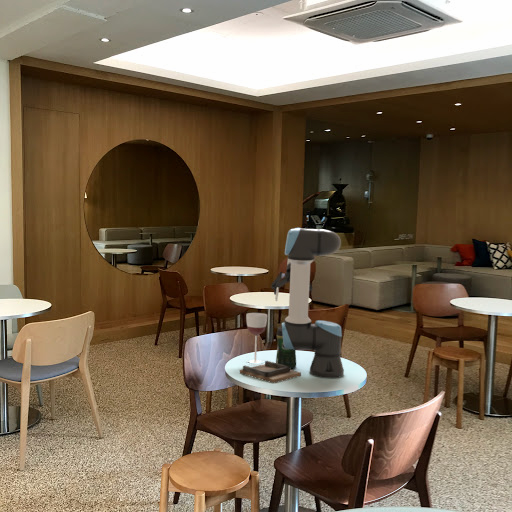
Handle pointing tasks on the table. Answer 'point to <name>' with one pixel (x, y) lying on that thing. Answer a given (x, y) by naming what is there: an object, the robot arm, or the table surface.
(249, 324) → the wineglass
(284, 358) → the coffee jar
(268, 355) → the table surface
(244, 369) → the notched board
